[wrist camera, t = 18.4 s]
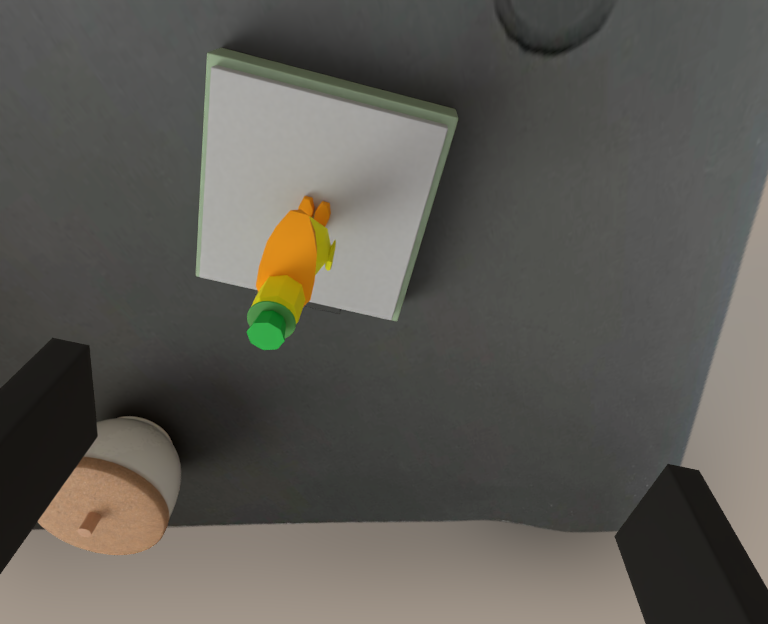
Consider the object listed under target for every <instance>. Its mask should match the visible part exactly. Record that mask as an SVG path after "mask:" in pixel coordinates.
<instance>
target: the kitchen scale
mask: <svg viewBox="0 0 768 624" xmlns="http://www.w3.org/2000/svg"><path fill="white" fill-rule="evenodd" d="M457 122H458V115H457V112H456V110H455V109H453V108H449V107H445V106H442V105H438V104H434V103H430V102H426V101H423V100H419V99H415V98H411V97H407V96H404V95H400V94H396V93H392V92H388V91H385V90H381V89H377V88H373V87H369V86H366V85H362V84H358V83H354V82H350V81H347V80H343V79H339V78H335V77H331V76H327V75H324V74H320V73H316V72H312V71H308V70H305V69H301V68H297V67H293V66H289V65H286V64H282V63H278V62H274V61H270V60H267V59H263V58H259V57H255V56H251V55H248V54H244V53H240V52H236V51H232V50H229V49H225V48H219V49H216V50H213V51H210V52H208V53H207V66H206V85H205V104H204V124H203V143H202V163H201V182H200V201H199V221H198V240H197V260H196V276H198V277H201V278H206V279H210V280H215V281H219V282H224V283H228V284H233V285H237V286H241V287H246V288H250V289H255V290H256V291H255V295H257V294H258V290H257V288H256V281H257V275H258V269H259V265H260V262H261V258H262V255H263V252H264V249H265V246H266V243H267V241H268V239H269V237H270V236H271V234H272V232H273V231H274V229H275V227H276V226H277V225H278V224H279V222H280V221H281V220H282V219H283V218H284V217H285V216H286V215H287V213H288V212H289V211H290V210H298V207H299V205H300V203H301V202H302V200H303V198H304V196H308V197H313V202H314V207H315V208H314V214H313V216H312V218H313V219H314V216H315V211H316V209H317V207H318V206H319V205H320V203H321V202H322V201H325V202H328V203H330V210H331V214H330V218H329V221H328V223H327V224H326V226H325V227H326V228H327V229H328V234H329V239H330V244H331V245H332V243H333V242H334V241H335V240H336V247H335V253H334V258H333V263H332V267H331V269H330V270H329V271H327V270H326V269H325V264H324V265H323V266H322V268H321V269H320V270H319V271H318V273H317V274H316V275H315V282H314V286H313V291H312V295H311V300H310V301H309V302H308V303H307V304H306V305H305V306H306V307H310V308H315V309H319V310H323V311H328V312H332V313H337V314H340V311H341V309H343V310H348V311H352V312H357V313H361V314H366V315H370V316H374V317H379V318H383V319H388V320H393V321H397V320H398V318H399V314H400V311H401V308H402V305H403V301H404V298H405V295H406V291H407V288H408V285H409V281H410V278H411V275H412V271H413V268H414V265H415V261H416V258H417V255H418V252H419V248H420V245H421V242H422V238H423V235H424V232H425V228H426V225H427V222H428V218H429V215H430V212H431V209H432V205H433V202H434V199H435V195H436V192H437V189H438V185H439V182H440V179H441V175H442V172H443V169H444V165H445V162H446V159H447V156H448V152H449V149H450V146H451V142H452V139H453V136H454V132H455V129H456V126H457Z"/></svg>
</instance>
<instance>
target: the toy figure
mask: <svg viewBox="0 0 768 624" xmlns="http://www.w3.org/2000/svg"><path fill="white" fill-rule="evenodd" d="M314 208H315V207H314V202H313V197H308V196H304V198H303V200H302V202H301V203H300V205H299V207H298V210H290V211H289V212H288V213H287V215H286V216H285V217H284V218H283V219H282V220H281V221H280V222H279V224H278V225H277V226H276V227H275V229H274V231H273V232H272V234H271V236H270V237H269V239H268V241H267V243H266V246H265V249H264V252H263V255H262V258H261V262H260V265H259V269H258V275H257V281H256V288H257V290H258V294H257V296H256V298H255V300H254V302H253V304H252V306H251V308H250V309H249V311H248V314H247V321H248V324H249V326H250V328H249V329H248V331H247V334H248V337H249V339H250V342H251V343H252V344H254V345H255V346H257V347H259V348H261V349H262V350H274V349H278V348H279V347H280V346H281V344H282V343H283V342H284V340H285V338H287V337H289V336H290V335H291V334H292V333H293V332H294V330H295V327H296V324H297V322H298V321H299V318H300V315H301V312H302V309H303V307H304V306H305V305H306V304H307V303H308V302H309V301H310V300H311V295H312V291H313V286H314V282H315V275H316V274H317V273H318V271H319V270H320V269H321V268H322V266H323V265H324V264H325V269H326V270H327V271H329V270H330V269H331V267H332V263H333V258H334V253H335V247H336V240H335V241H334V242H333V243H332V245H331V244H330V239H329V234H328V229H327V228H326V227H325V226H326V224H327V223H328V221H329V218H330V214H331V210H330V203H328V202H325V201H322V202H321V203H320V205H319V206H318V207H317V209H316V211H315V216H314V219H313V218H312V216H313V214H314Z"/></svg>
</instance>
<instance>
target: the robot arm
mask: <svg viewBox="0 0 768 624" xmlns="http://www.w3.org/2000/svg"><path fill="white" fill-rule="evenodd" d="M97 437H98V432H97V422H96V411H95V401H94V390H93V380H92V369H91V359H90V348H89V345H84V344H80V343H75V342H70V341H65V340H60V339H55V338H52V339H51V340H50V341H49V342H48V343H47V344H46V345H45V346H44V347H43V348H42V349H41V350H40V351H39V352H38V353H37V354H36V355H35V356H34V357H32V358H31V359H30V360H29V361H28V362H27V363H26V364H25V365H24V366H23V367H22V368H21V369H20V370H19V371H18V372H17V373H16V374H15V375H14V376H13V377H12V378H11V379H10V380H9V381H8V382H7V383H6V384H5V385H4V386H3V387H1V388H0V574H1V572H2V571H3V569H4V568H5V567H6V565H7V564H8V563H9V561H10V560H11V558H12V557H13V556H14V554H15V553H16V551H17V550H18V548H19V547H20V546H21V544H22V543H23V541H24V540H25V539H26V537H27V536H28V534H29V533H30V532H31V530H32V529H33V527H34V526H35V524H36V523H37V522H38V520H39V519H40V517H41V516H42V515H43V513H44V512H45V510H46V509H47V508H48V506H49V505H50V503H51V502H52V500H53V499H54V498H55V496H56V495H57V493H58V492H59V491H60V489H61V488H62V486H63V485H64V483H65V482H66V481H67V479H68V478H69V476H70V475H71V474H72V472H73V471H74V469H75V468H76V467H77V465H78V464H79V462H80V461H81V459H82V458H83V457H84V455H85V454H86V452H87V451H88V450H89V448H90V447H91V445H92V444H93V443H94V441H95V440H96V438H97ZM615 539H616V542H617V544H618V547H619V550H620V553H621V556H622V558H623V561H624V564H625V567H626V570H627V572H628V575H629V578H630V581H631V583H632V586H633V589H634V592H635V595H636V598H637V601H638V603H639V606H640V609H641V612H642V614H643V617H644V620H645V623H646V624H768V589H767V587H766V586H765V584H764V582H763V581H762V579H761V577H760V575H759V573H758V572H757V570H756V568H755V567H754V565H753V563H752V561H751V560H750V558H749V556H748V554H747V553H746V551H745V549H744V547H743V546H742V544H741V542H740V541H739V539H738V537H737V535H736V534H735V532H734V530H733V529H732V527H731V525H730V523H729V521H728V520H727V518H726V516H725V515H724V513H723V511H722V510H721V508H720V506H719V504H718V502H717V501H716V499H715V497H714V496H713V494H712V492H711V490H710V489H709V487H708V485H707V483H706V482H705V480H704V478H703V476H702V475H701V473H700V472H699V470H695V469H690V468H685V467H680V466H675V465H670V464H667V466H666V467H665V469H664V470H663V471H662V473H661V474H660V475H659V477H658V478H657V479H656V481H655V482H654V483H653V485H652V486H651V488H650V489H649V490H648V492H647V493H646V494H645V496H644V497H643V498H642V500H641V501H640V503H639V504H638V505H637V507H636V508H635V509H634V511H633V512H632V513H631V515H630V516H629V517H628V519H627V520H626V522H625V523H624V524H623V526H622V527H621V528H620V530H619V531H618V532H617V534H616V535H615Z"/></svg>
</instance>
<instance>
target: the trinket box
mask: <svg viewBox="0 0 768 624" xmlns="http://www.w3.org/2000/svg"><path fill="white" fill-rule="evenodd" d="M97 432H98V437H97V438H96V440H95V441H94V443H93V444H92V445H91V447H90V448H89V450H88V451H87V452H86V454H85V455H84V457H83V458H82V459H81V461H80V462H79V464H78V465H77V467H76V468H75V469H74V471H73V472H72V474H71V475H70V476H69V478H68V479H67V481H66V482H65V483H64V485H63V486H62V488H61V489H60V491H59V492H58V493H57V495H56V496H55V498H54V499H53V500H52V502H51V503H50V505H49V506H48V508H47V509H46V510H45V512H44V513H43V515H42V516H41V517H40V519H39V520H38V523H39V524H40V525H41V526H42V527H43V528H45V529H46V530H47V531H48V532H50V533H51V534H53V535H54V536H56V537H57V538H59V539H61V540H63V541H64V542H66V543H69V544H71V545H73V546H75V547H78V548H81V549H85V550H88V551H92V552H95V553H102V554H110V555H127V554H134V553H138V552H142V551H144V550H147V549H149V548H151V547H152V546H154V545H155V544H156V543H157V542H158V541H159V540H160V539H161V538H162V536H163V534H164V532H165V530H166V528H167V525H168V522H169V518H170V516H171V513H172V511H173V508H174V506H175V503H176V500H177V496H178V493H179V489H180V483H181V465H180V460H179V456H178V454H177V451H176V449H175V447H174V446H173V444H172V441H171V438H170V437H169V435H168V434H167V433H166V431H165V430H163V429H162V428H161V427H160V426H158V425H157V424H155V423H153V422H152V421H149V420H147V419H144V418H140V417H135V416H123V417H118V418H115V419H107V420H102V421H99V422H97Z"/></svg>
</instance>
